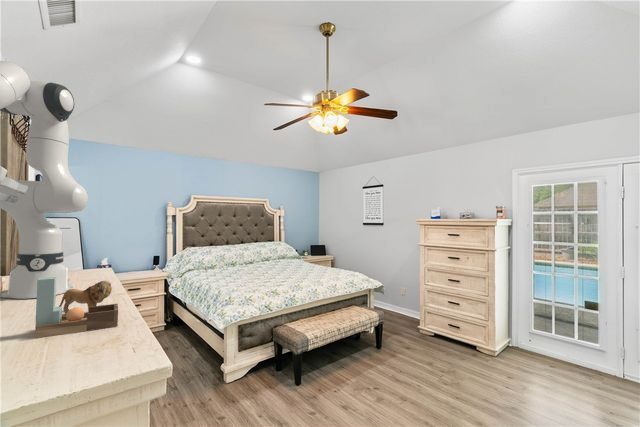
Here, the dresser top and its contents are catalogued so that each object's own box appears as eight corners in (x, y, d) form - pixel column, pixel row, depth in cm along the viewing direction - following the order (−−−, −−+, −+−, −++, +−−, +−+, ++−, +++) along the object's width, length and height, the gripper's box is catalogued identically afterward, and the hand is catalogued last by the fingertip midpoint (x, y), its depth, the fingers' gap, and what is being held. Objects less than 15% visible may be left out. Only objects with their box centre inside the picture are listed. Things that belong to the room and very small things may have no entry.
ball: (66, 321, 76) (67, 306, 76) (84, 318, 78) (85, 305, 78) (64, 325, 73) (65, 310, 73) (83, 322, 75) (84, 308, 75)
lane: (40, 328, 74) (41, 318, 74) (88, 322, 79) (88, 312, 79) (35, 338, 69) (35, 326, 69) (86, 330, 74) (87, 320, 74)
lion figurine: (114, 309, 91) (115, 278, 91) (106, 314, 86) (107, 282, 86) (58, 311, 88) (59, 279, 89) (45, 316, 83) (46, 283, 83)
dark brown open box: (88, 322, 80) (89, 306, 80) (117, 318, 83) (117, 303, 83) (86, 330, 74) (87, 314, 74) (117, 326, 77) (118, 310, 77)
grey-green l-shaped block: (38, 323, 73) (40, 277, 73) (61, 320, 76) (63, 275, 76) (34, 329, 70) (36, 280, 70) (58, 325, 72) (60, 278, 72)
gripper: (-47, 142, 63) (38, 172, 73) (-56, 173, 75) (18, 195, 85) (-64, 167, 61) (26, 195, 70) (-71, 195, 72) (7, 216, 82)
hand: (21, 195), depth 78 cm, fingers open, 8 cm apart
